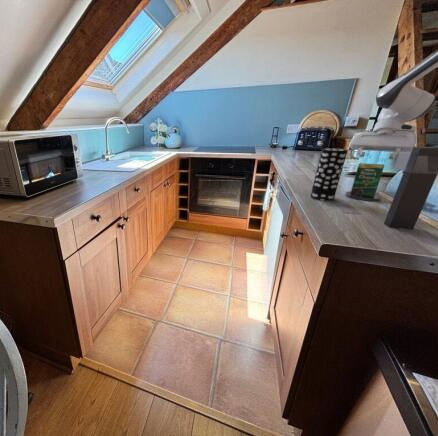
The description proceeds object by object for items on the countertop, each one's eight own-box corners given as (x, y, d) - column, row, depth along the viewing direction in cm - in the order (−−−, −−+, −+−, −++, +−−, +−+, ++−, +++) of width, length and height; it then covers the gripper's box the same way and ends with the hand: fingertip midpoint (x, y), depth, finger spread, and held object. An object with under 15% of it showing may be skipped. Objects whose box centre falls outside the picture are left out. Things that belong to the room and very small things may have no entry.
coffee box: (349, 193, 105) (358, 163, 100) (350, 192, 107) (360, 162, 102) (373, 197, 99) (384, 165, 94) (374, 196, 101) (385, 164, 96)
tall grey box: (375, 217, 83) (402, 144, 74) (397, 219, 81) (427, 144, 72) (389, 227, 76) (420, 147, 66) (413, 229, 74) (449, 148, 65)
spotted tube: (333, 196, 104) (346, 148, 97) (334, 202, 98) (348, 151, 90) (310, 194, 109) (321, 147, 101) (310, 199, 102) (322, 150, 94)
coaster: (361, 192, 109) (362, 190, 109) (385, 200, 99) (386, 198, 98) (338, 193, 108) (339, 191, 108) (360, 201, 98) (361, 199, 98)
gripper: (355, 126, 109) (345, 151, 107) (421, 126, 96) (411, 154, 93) (354, 136, 114) (344, 159, 111) (417, 137, 100) (407, 164, 98)
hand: (375, 157), depth 102 cm, fingers open, 8 cm apart
